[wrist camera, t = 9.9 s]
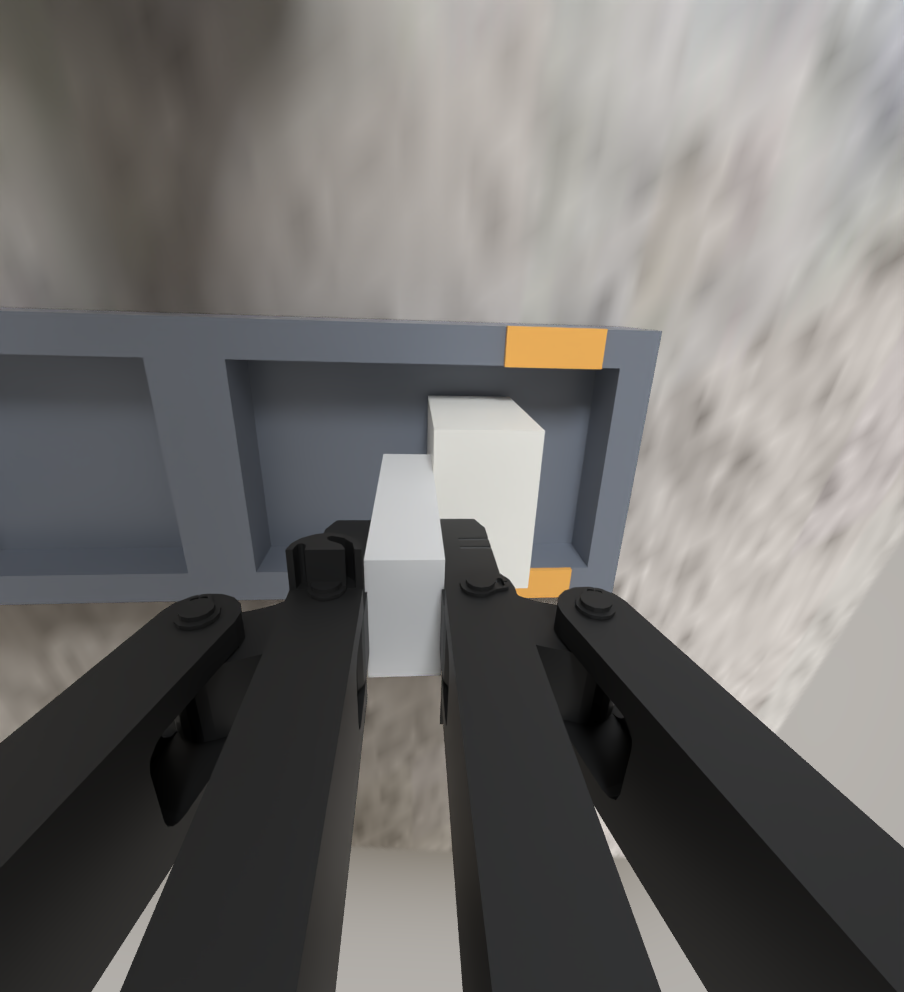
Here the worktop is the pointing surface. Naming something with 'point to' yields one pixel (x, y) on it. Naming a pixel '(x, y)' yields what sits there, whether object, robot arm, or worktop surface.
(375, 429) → the tray
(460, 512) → the tab
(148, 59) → the worktop surface
